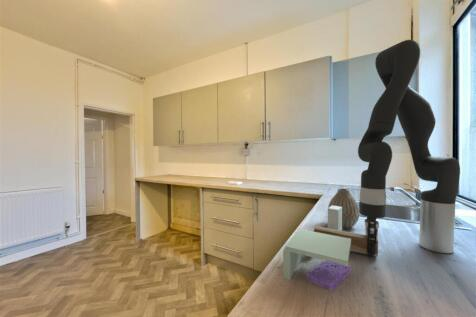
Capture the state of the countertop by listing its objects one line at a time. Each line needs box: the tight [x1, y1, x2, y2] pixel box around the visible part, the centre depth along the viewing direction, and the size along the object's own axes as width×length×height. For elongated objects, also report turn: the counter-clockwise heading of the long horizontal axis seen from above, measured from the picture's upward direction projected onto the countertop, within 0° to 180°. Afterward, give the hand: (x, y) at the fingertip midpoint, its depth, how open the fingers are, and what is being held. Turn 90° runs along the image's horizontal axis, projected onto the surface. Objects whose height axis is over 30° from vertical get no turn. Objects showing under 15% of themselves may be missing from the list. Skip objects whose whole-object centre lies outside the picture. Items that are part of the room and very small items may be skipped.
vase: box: [327, 188, 360, 230], centre depth 99 cm, size 13×13×18 cm
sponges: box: [306, 260, 351, 291], centre depth 61 cm, size 7×13×2 cm, turn 133°
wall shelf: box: [282, 228, 351, 280], centre depth 62 cm, size 15×16×9 cm
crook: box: [313, 225, 379, 257], centre depth 72 cm, size 14×20×5 cm
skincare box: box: [327, 205, 343, 231], centre depth 89 cm, size 6×4×12 cm
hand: (370, 251), depth 72 cm, fingers closed on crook, 3 cm apart
